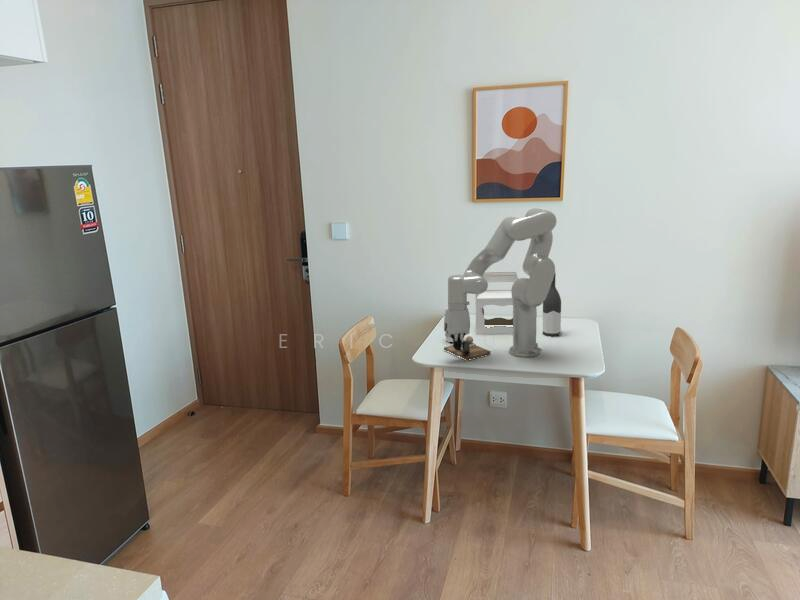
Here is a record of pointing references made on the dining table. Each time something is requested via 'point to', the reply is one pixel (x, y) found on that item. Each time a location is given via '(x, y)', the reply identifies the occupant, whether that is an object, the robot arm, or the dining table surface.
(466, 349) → the lever
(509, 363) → the dining table surface
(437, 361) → the dining table surface
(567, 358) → the dining table surface
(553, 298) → the wine bottle
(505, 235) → the robot arm
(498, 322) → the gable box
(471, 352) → the board
